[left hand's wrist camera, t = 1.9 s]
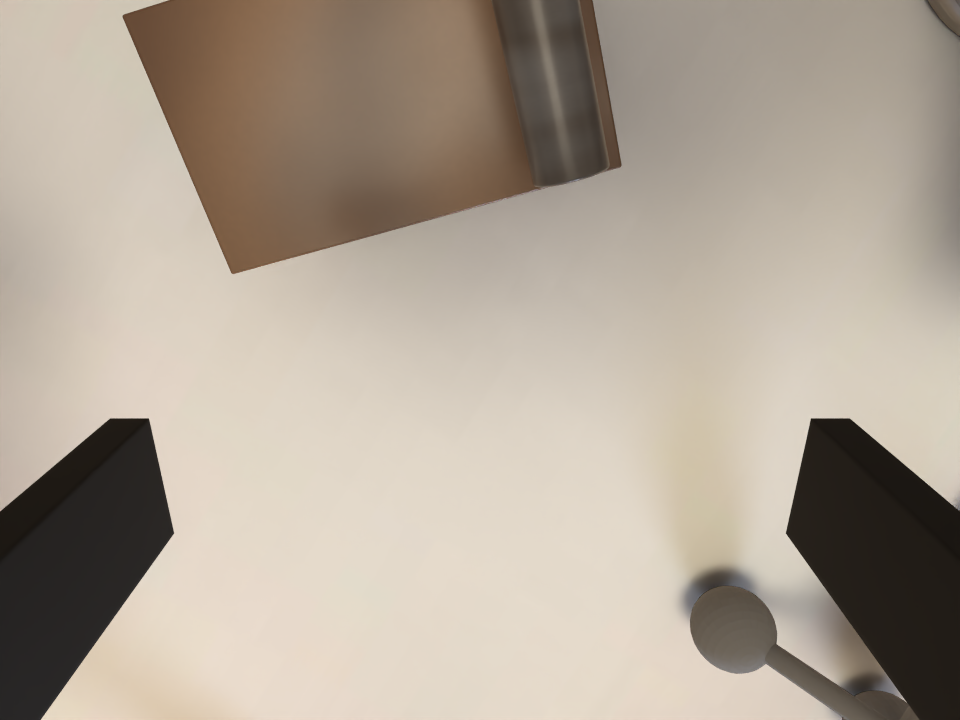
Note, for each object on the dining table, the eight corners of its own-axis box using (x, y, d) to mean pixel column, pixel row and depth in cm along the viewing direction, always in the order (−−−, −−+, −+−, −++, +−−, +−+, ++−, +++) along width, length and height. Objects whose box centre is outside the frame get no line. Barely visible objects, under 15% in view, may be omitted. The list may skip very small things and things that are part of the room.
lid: (565, -118, 21) (622, -250, 13) (616, 164, 24) (685, 191, 17) (135, 18, 22) (-45, -30, 14) (239, 268, 26) (140, 339, 18)
